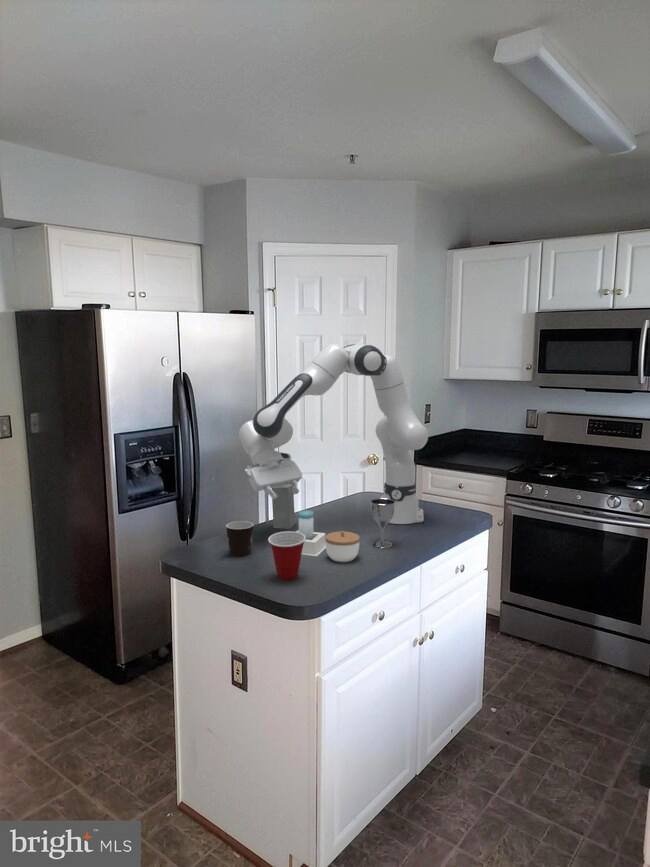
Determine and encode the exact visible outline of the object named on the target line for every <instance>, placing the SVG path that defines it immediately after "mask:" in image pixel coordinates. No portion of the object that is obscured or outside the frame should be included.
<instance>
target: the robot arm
mask: <svg viewBox="0 0 650 867" xmlns="http://www.w3.org/2000/svg"><path fill="white" fill-rule="evenodd" d="M345 372H346V373H348V374H352V375H356V376H366V377H370V379H371V381H372V386H373V389H374V393H375V396H376V401H377V404H378V408H379V409H380V411H381V412H382V413H383V414H384V416H385V417H384V418H381V419H380V420H378V422H377V424H376V427H375V435H376V438H377V439H378V440H379V442H380V445H381V448H382V452H383V453H382V454H383V457H384V462H385V482H384V484H383V485H384V486H383V491H384V492H383V495H381V496H380V497H379V498H386V499H392V500H394V501H395V509H394V514H393V517H392V519H391V520H390V521H389V523H388V524H394V525H395V524H396V525H409V524H411V525H412V524H415V523H423V521H425V520H424V519H425V518H424V509H422V508H421V507H419V499H418V496H417V494H416V491H417V486H416V481H415V479H416V477H415V475H416V465H415V464H416V463H415V461H414V460H413V458H412V455H411V454H410V451H418V450H421V449H423V448H424V447H425V445H426V444H427V443H428V440H429V432H428V429H427V428H426V427H425V426H424V425H423V424H422V423H421V421H420V420H419V418H418V416H417V415H416V413H415V411H414V410H413V408H412V404H411V403H410V400H409V397H408V394H407V390H406V386H405V383H404V379H403V375H402V373H401V372H402V371H401V368H400V367H399V365H398V362H397V361H396V359H395V357H394V356H392V355H390V354H383V352H382V351H381V350H380V349H379V348H378V347H376V346H374V345H371V344H365V343H357V344H348V345H346V346H344V347H343V346H342V345H341V344H336V343H330V344H328V345H326V346H325V347H324V348H323V349H322V350H320V351H319V352H318V354H317V355H315V357H314V358H313V359H312V360H311V362H310V363H309V364H308V365H307V367H305V369H303V371H302V372H301V373H299V374H298V375H296V376H295V377H294V378H293V379H292V380H291V381H290V382H289V383H288V384H287V385H286V386H284V387H283V389H282V390H281V391H280V392H279V393H278V394H277V395H276V397H274V399H273V400H272V401H270V402H269V403H268V404H266V405H265V406H263V407H261V408H260V409H259V410H258V411H257V412H255V415H254V417H253V420H252V419H251V420H248V421H245V423H244V424H242V425H241V427H240V428H239V431H238V438H239V441H240V443H241V445H242V447H243V449H244V451H245V452H246V454H248V456H249V457H250V458H249V459H250V461H251V463H252V465H246V467H245V469H244V472H245V474H246V475H247V478H248V482H249V484H250V486H251V488H252V490H253V491H255V492H259V491H260V492H261V491H264V493H266V494H267V495H269V497H270V498H271V500H272V499H277V497H278V494H277V492H274V491H272V488H274V487H279V486H283V485H288V484H290V485H291V486H293V490H292V492H293V494H294V495H297V494H298V493H299V492H300V490H299V488H298V483H299V482H300V480H302V478H303V473H302V471H301V469H300V467H299V466H298V465H297V464H296V462H295V461H294V460H292V455H291V454H289V453H286V452H280V451H278V450H277V451H276V450H275V449H278V448H279V447H282V446H283V445H285V444H288V443H289V442H290V441H291V439H292V436H293V432H294V428H293V426H292V424H291V423H290V422H289V421H288V420H287V419H286V418H285V417H286V415H287V414H288V412H289V411H290V410H291V409H292V408H294V406H295V405H296V404H297V403H298V402H299V401H300V400H301V399H302V398H303V397H305V396H322V395H325V393H327V392H328V391H329V390H331V388H332V387H333V386H334V384H335V383H336V382H337V380H339V378H340V376H341V375H342V374H344V373H345Z"/></svg>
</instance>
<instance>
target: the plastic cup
mask: <svg viewBox="0 0 650 867" xmlns="http://www.w3.org/2000/svg"><path fill="white" fill-rule="evenodd" d="M267 538H268V540H267V541H268V544H270V546H271V551H272V554H273V560H274V561H273V562H274V565H275V566H274V567H275V568H276V570H275V572H276V575H277V578H278V579H280V580H281V581H282V580H284V581H292V580H295V579H297V577H298V575H299V570H300V566H301V559H302V555H303V554H302V548H303V544H304V541H305V539H306V537H305V535H304V534H302V533H299V532H296V531H290V530H289V531H287V530H286V531H280V532H279V531H278V532H275V533H274V534H271V535H270V536H269V537H267Z"/></svg>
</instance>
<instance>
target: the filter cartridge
mask: <svg viewBox="0 0 650 867" xmlns="http://www.w3.org/2000/svg"><path fill="white" fill-rule="evenodd" d="M298 530H299V533H302V534H304V535H305V537H306V540H313V532H314V511H312V510H307V509H305V510H300V511H298Z"/></svg>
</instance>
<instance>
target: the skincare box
mask: <svg viewBox="0 0 650 867" xmlns="http://www.w3.org/2000/svg"><path fill="white" fill-rule="evenodd" d="M271 490H272V491H274V492H277V494H278V497H277V499H272V498H271V501H272V502H271V504H272V505H271V506H272V520H273V522H272V523H273V524H272V526H273V529H285V530H290V529H291V528H294V526H295V525H296V518H295V517H296V515H295V494H293V492H292V490H293V486H291V485H290V484H288V485H283V486H279V487H274V488H271Z"/></svg>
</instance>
